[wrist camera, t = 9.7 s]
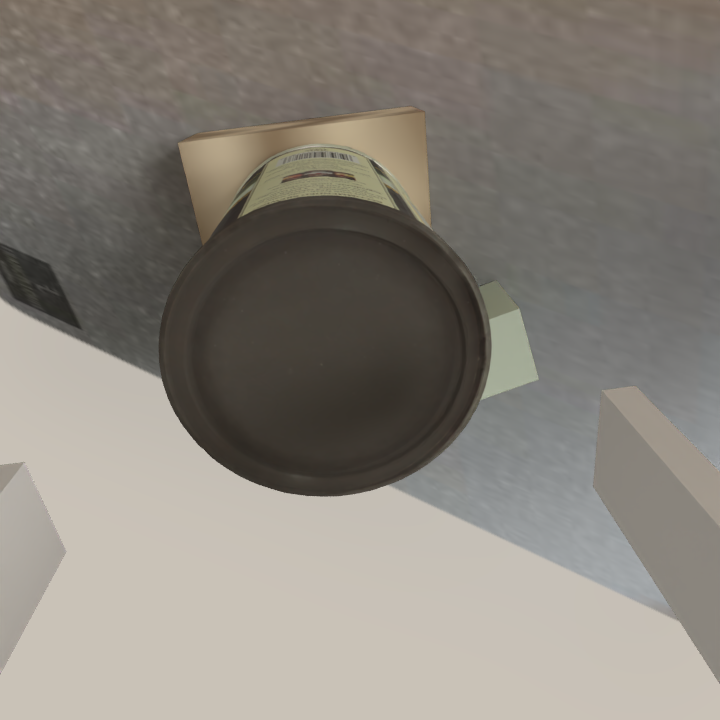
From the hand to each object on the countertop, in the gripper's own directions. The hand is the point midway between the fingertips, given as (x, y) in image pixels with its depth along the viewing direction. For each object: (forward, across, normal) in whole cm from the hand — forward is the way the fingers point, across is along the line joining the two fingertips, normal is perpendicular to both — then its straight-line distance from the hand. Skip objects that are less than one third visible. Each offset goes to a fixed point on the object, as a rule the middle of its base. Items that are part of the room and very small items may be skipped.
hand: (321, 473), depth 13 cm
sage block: (+24, -9, +8) cm, 27 cm away
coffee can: (+19, 0, 0) cm, 19 cm away
